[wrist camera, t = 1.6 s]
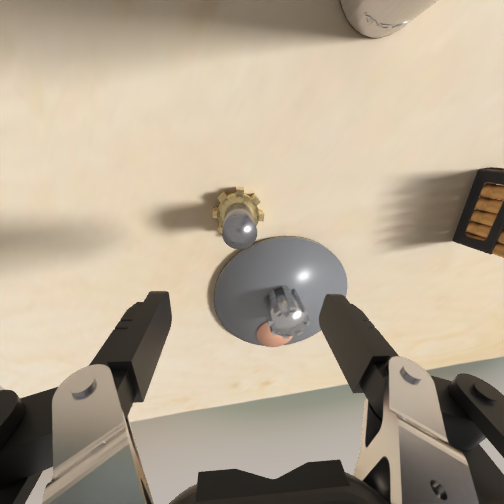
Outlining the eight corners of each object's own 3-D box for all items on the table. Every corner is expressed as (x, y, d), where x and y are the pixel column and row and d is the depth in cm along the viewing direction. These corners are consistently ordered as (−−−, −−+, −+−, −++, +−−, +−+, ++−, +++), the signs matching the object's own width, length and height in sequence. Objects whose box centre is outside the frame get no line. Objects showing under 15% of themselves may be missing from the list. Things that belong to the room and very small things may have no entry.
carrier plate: (215, 231, 27) (210, 250, 22) (362, 239, 30) (390, 258, 24) (214, 342, 37) (210, 374, 31) (325, 341, 39) (340, 370, 34)
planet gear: (213, 185, 24) (205, 197, 17) (264, 189, 25) (276, 202, 18) (213, 233, 27) (206, 261, 20) (259, 235, 28) (268, 263, 21)
